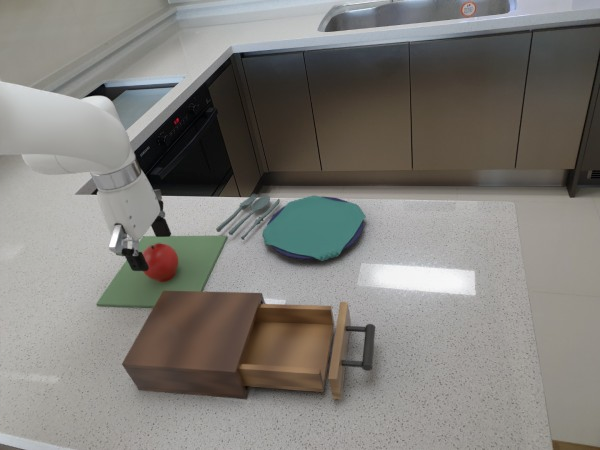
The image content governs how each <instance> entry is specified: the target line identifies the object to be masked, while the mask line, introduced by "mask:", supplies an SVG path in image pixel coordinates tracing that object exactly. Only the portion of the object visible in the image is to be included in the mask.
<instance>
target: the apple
mask: <svg viewBox="0 0 600 450" xmlns="http://www.w3.org/2000/svg"><path fill="white" fill-rule="evenodd" d="M142 254H143V256H144V258H145V260H146V262H147V264H148V266H149V269H148V271H143V272H144V274H145V275H146V276H148V277H149V278H151V279H154V280H157V281H159V282H165V281H168V280H170V279H171V278H173V277H174V275H175V273H176V269H177V267H178V256H177V253H176V252H175V250H174V249H173V248H172V247H170V246H169V245H167V244H163V243H157V244H153V245H151V246H149V247H147V248H146V249H145V250H144V252H143V253H142Z"/></svg>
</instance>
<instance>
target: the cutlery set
mask: <svg viewBox="0 0 600 450" xmlns="http://www.w3.org/2000/svg"><path fill="white" fill-rule="evenodd" d="M270 201H271V196H270V195H264V196H261V197H259V194H256V193H252V195H251V196H249V197H248V198H247V199H245V200H243V201H242V202H240V203H239V207H238V208H237V209H236V210H235V211H234V212H233V214H231V215H230V216H229V217H228V218H227V219H225V220H224V221H223V222H222V223H220V224H219V225H217V227H216V228H215V230H216V232H217V233H220V232H221V231H222V230H223V229H225V227H226V226H227V225H229V224H230V222H232V221H233V220H234V219H236V217H237V216H238V215H239V213H240V212H241V211H244V210H246V209H248V208H249V207H250V206H251V210H252V211H251V212H249V213H248V214H247V215H246V216H244V217H243V218H242V219H241V220H240V221H239V222H238V223H236V224H235V225H234V226H233V227H232V228H231V229H229V231H228V235H231V236H233V235H234V234H235V233H236V231H237V230H238V229H239V228H240V227H241V226H242V225H243V224H244V223H245V222H246V221H247V220H248V219H250V217H251V216H252V215H254V214H255V213H256V212H258V211H261V210H263V209H264V208H267V206H268V204H269V203H270ZM280 203H281V200H280V198H278V199H276V201H275V202H273V204H272V205H271V206H270V207H269V208H268V209H267V210H266V211H265V212H264V213H263V214H262V215H261V216H259V215H258V218H257V219H255V220H254V222H253V224H252V226H251V227H250V228H249V229H248V230H247V231H246V232H245V233H244V234H243V235H242V236H240V239H241V240H243V241H245V238H246V237H247V236H248V234H249V233H250V232H252V230H253V229H254V228H255V227H256V226H258V225H260V224H261V222H264V219H265V218H266V217H268V216H269V215H270V214H271V213H272V212H273V211H274V210H275V208H277V207H278V205H279V204H280ZM365 218H367V216H366V214H365V213H364V211H363V210H362V208H361V207H360V206H359V205H358V204H357V203H354V202H350V201H347V200H344V199H341V198H339V197H333V196H332V197H331V196H319V195H310V196H307V197H302V198H298V199H294V200H292V201H289V202H287V203H286V205H284V206H282V207H281V208H280V209H278V210H277V211H275V213H274V214H272V216H271V217H270V219H269V220H268V221H267V224H266V226H265V227H264V229H262V234H261V235H262V239H263V241H264V246H270V247H271V248H272V249H274V250H275V251H276V252H277V253H279V254H281V255H283V256H286V257H288V258H293V259H299V260H318V261H321V262H323V261H326V260H329V259H333V258H337V257H339V255H340V254H341V252H343V251H344V250H346V249H349V248H350V247H351V246H353V244H354V243H355V242H356V241H357V240H358V239H359V238H360V236H361V234H362V232H363V229H364V227H365V225H364V220H365Z"/></svg>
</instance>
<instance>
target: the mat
mask: <svg viewBox="0 0 600 450" xmlns="http://www.w3.org/2000/svg"><path fill="white" fill-rule="evenodd" d="M227 240H228V235H170V237H156V236H155V235H143V237H142V238H141V239H140V240H139V252H142V253H143V252H144V250H145V249H146V248H147V247H149V246H151V245H153V244H157V243H163V244H167V245H169V246H170V247H172V248H173V249H174V250H175V252H176V253H177V256H178V267H177V269H176V273H175V275H174V277H173V278H171V279H170V280H168V281H165V282H159V281H157V280H154V279H151V278H149V277H148V276H146V275H145V274H144V272H143V271H133V270H132V269H131V267H130V265H129V263H128V261H127V259H126V260H125V262H124V263H123V264H122V266H121V267H120V269H119V270H118V272H117V273H116V275H115V276H114V277H113V279H112V280H111V282H110V283H109V284H108V286H107V287H106V289H105V291H104V292H103V293H102V295H101V296H100V298H99V299H98V301H97V302H96V303H95V305H96V306H97V307H113V308H114V307H117V308H144V309H145V308H146V309H153V308H154V306H155V304H156V302H157V301H158V299H159V297H160V295H161V293H162V292H163V291H204V288H205V286H206V284H207V282H208V280H209V277H210V276H211V273H212V272H213V269H214V267H215V265H216V263H217V262H218V259H219V257H220V255H221V252H222V250H223V249H224V247H225V244H226V242H227Z"/></svg>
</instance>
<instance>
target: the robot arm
mask: <svg viewBox="0 0 600 450" xmlns="http://www.w3.org/2000/svg"><path fill="white" fill-rule="evenodd" d="M19 155H21V158H22V160H23V162H24V164H25V165H26V166H27V167H28V168H29V169H31V170H32V171H34V172H36V173H38V174H41V175H46V176H60V175H61V176H62V175H71V174H82V173H89V174H90V177H91V179H92V180H93V182H94V184H95V185H96V188H97V192H96V197H97V202H98V205H99V208H100V211H101V214H102V216H103V220H104V222H105V224H106V227H107V229H108V231H109V234H110V235H111V238H110V241H109V245H108V249H109V251H110V252H112V253H114V254H115V255H116V256H117V257H118V256H119V257H124V258H125V259H126V260H127V261H128V263H129V265H130V267H131V269H132V270H133V271H148V269H149V266H148V264H147V262H146V260H145V258H144V256H143V254H142V252H139V242H140V240H141V239H142V237H143V236H145V235H146V233H147V231H148V230H149V229H150V227H151V230H152V231H153V233H154V236H156V237H170V236H172V232H171V229H170V227H169V225H168V222H167V220H166V218H165V217H166V212H165V211H164V201H163V195H162V190H161V189H153V187H152V185H151V183H150V181H149V179H148V177H147V175H146V174H145V173H144V171H143V170H142V168H141V166H140V163H139V161H138V159H137V155H136V153H135V152H134V149H133V147H132V144H131V140H130V136H129V135H128V132H127V130H126V128H125V126H123V122H122V121H121V119H120V116H119V114H118V111H117V108H116V107H115V104H114V102H113V101H112V100H111V99H110V98H108V97H107V96H104V95H92V96H86V97H83V98H77V97H73V96H70V95H65V94H62V93H57V92H52V91H47V90H42V89H38V88H35V87H29V86H26V85H21V84H17V83H12V82H7V81H2V80H1V81H0V156H19ZM128 242H131V248H128V244H129V243H128Z"/></svg>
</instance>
